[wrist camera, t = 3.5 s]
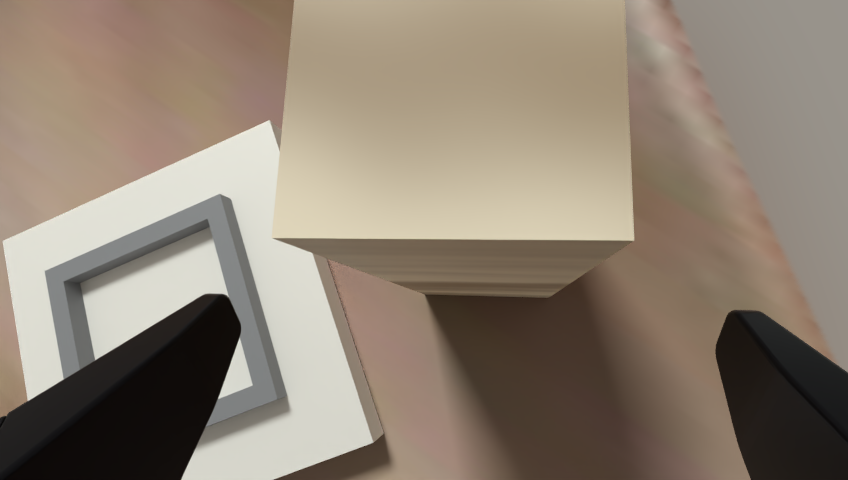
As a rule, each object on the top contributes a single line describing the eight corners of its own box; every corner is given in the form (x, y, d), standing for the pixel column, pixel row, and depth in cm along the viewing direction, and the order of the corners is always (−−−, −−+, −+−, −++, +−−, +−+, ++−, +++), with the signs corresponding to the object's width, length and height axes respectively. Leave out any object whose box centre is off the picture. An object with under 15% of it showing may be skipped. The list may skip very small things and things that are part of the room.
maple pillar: (548, 297, 19) (633, 240, 6) (424, 294, 19) (271, 237, 7) (547, 176, 19) (621, -97, 7) (429, 178, 20) (300, -60, 8)
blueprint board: (383, 433, 19) (366, 448, 16) (86, 543, 20) (33, 571, 18) (285, 133, 22) (260, 112, 20) (34, 246, 23) (-16, 237, 21)
